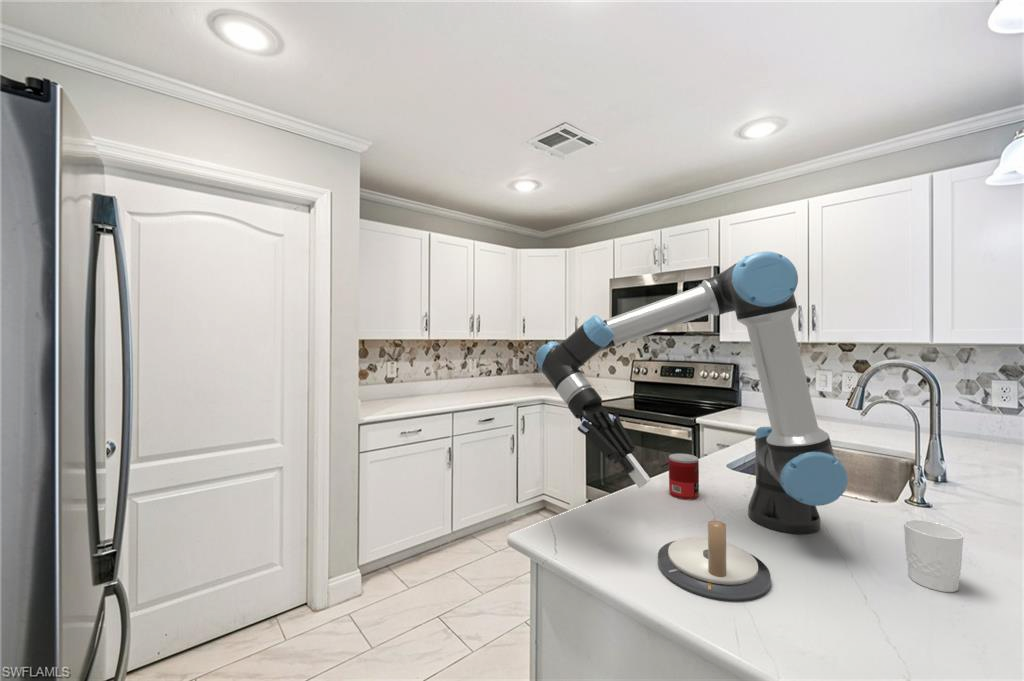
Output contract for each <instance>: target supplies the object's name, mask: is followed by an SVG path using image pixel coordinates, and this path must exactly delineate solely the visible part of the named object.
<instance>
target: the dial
mask: <svg viewBox="0 0 1024 681" xmlns="http://www.w3.org/2000/svg"><path fill="white" fill-rule="evenodd" d="M673 541H674V542H673ZM673 541H672V542H673V543H672V544H671V545H670V546H669V549H668V556H669V560H670V561H671V563H672V564H673V565H674V566H675V567H676V568H677V569H679V570H680V571H682V572H683V573H685V574H687V575H689V576H691V577H694V578H696V579H699V580H703V581H706V582H711V583H716V584H725V585H736V584H744V583H747V582H750V581H752V580H753V579H755V578H756V577H757V575H758V563H757V561H756V560H755V558H754V557H753V556H754V555H753V554H752V555H753V556H752V555H751V553H750V552H748V551H747V550H745V549H744V548H741V547H739V546H737V545H735V544H732V543H730V542H727V524H726V523H725V522H723V521H721V520H715V519H713V520H709V521H707V537H699V536H698V537H697V536H696V537H695V536H693V537H684V538H680V539H676V540H673ZM749 553H750V554H749Z"/></svg>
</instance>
